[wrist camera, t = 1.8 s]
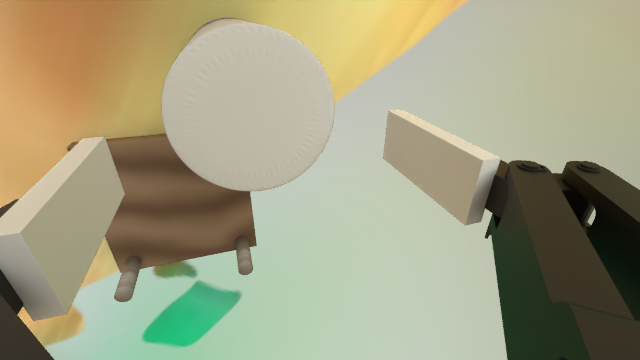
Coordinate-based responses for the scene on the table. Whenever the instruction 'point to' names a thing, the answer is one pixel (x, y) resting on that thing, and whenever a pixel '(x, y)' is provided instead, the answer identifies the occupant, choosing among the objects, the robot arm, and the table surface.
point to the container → (247, 105)
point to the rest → (171, 212)
